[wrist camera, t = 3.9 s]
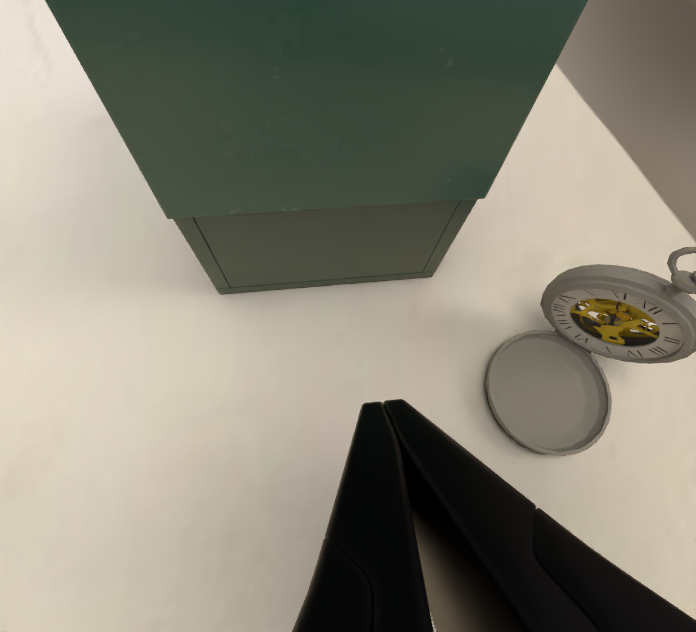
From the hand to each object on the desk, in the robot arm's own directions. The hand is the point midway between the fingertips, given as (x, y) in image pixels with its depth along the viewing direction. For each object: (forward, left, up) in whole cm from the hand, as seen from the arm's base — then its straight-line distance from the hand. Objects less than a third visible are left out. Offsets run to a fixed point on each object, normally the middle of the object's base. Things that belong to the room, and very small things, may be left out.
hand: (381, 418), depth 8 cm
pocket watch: (-2, -12, -14) cm, 18 cm away
